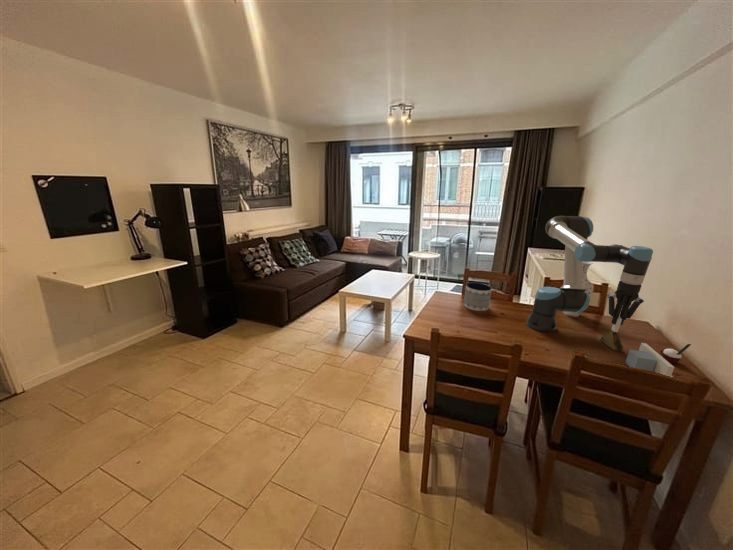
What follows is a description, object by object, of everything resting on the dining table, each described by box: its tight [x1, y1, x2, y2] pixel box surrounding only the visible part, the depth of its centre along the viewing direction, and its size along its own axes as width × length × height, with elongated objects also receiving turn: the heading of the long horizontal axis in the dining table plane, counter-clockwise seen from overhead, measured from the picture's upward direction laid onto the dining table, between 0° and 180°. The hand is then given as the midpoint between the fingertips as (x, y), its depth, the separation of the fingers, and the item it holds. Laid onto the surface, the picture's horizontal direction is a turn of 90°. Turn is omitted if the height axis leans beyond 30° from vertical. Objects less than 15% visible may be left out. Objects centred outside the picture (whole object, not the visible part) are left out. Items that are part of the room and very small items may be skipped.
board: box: [638, 342, 675, 377], centre depth 136 cm, size 6×20×8 cm, turn 164°
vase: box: [562, 261, 595, 318], centre depth 189 cm, size 16×16×35 cm
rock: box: [600, 330, 624, 353], centre depth 156 cm, size 11×9×10 cm
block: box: [625, 349, 657, 371], centre depth 137 cm, size 7×7×7 cm
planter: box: [463, 282, 493, 312], centre depth 199 cm, size 16×16×14 cm
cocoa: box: [660, 343, 692, 364], centre depth 142 cm, size 10×6×12 cm, turn 165°
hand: (614, 330), depth 137 cm, fingers closed
